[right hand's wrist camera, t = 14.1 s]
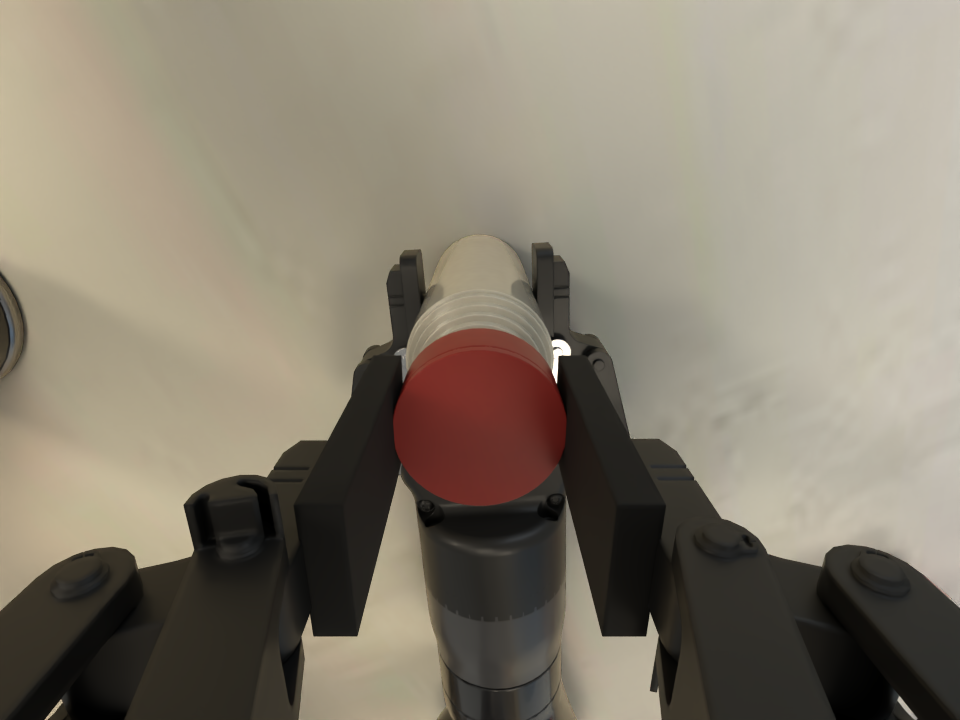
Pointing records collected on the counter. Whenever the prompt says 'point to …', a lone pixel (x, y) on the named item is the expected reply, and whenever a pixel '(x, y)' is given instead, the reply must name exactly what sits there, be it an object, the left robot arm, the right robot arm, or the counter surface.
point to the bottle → (479, 297)
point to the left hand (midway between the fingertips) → (475, 250)
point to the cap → (479, 418)
